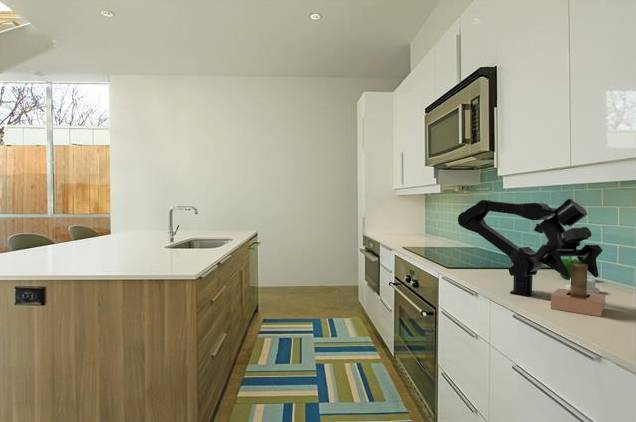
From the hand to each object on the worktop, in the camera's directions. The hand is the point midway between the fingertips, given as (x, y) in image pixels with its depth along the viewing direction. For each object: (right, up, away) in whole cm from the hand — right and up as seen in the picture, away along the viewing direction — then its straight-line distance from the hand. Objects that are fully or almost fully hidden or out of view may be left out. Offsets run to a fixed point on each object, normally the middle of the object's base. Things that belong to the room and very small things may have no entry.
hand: (582, 276), depth 117 cm
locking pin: (0, -10, +2) cm, 10 cm away
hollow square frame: (0, -10, +2) cm, 10 cm away
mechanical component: (+17, -10, +26) cm, 33 cm away
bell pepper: (+27, -9, +49) cm, 57 cm away
